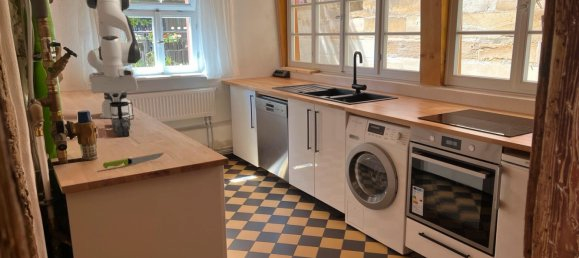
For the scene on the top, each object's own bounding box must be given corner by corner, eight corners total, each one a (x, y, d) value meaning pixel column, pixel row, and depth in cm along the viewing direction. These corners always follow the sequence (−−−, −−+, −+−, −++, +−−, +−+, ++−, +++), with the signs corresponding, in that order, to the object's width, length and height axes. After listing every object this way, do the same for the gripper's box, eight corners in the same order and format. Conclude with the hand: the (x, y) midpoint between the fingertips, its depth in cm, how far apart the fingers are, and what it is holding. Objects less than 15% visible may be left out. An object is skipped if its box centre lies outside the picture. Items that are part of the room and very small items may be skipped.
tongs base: (112, 129, 216) (111, 118, 215) (129, 127, 220) (128, 117, 218) (114, 137, 199) (113, 126, 198) (132, 135, 203) (131, 124, 201)
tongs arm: (122, 130, 214) (121, 122, 213) (127, 129, 215) (126, 121, 214) (123, 136, 201) (123, 127, 200) (129, 135, 202) (128, 127, 201)
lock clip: (98, 133, 208) (97, 124, 207) (105, 133, 209) (104, 124, 208) (98, 138, 199) (97, 128, 198) (105, 137, 201) (104, 127, 200)
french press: (109, 128, 219) (105, 83, 214) (110, 124, 227) (105, 81, 222) (134, 126, 223) (130, 81, 218) (133, 122, 231) (129, 80, 226)
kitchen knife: (164, 159, 167) (163, 151, 166) (165, 160, 166) (164, 152, 165) (103, 170, 154) (102, 162, 153) (104, 171, 153) (103, 163, 152)
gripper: (88, 73, 192) (92, 104, 195) (136, 71, 201) (139, 100, 204) (88, 72, 198) (91, 102, 201) (135, 70, 206) (137, 98, 210)
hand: (116, 101), depth 203 cm, fingers closed
